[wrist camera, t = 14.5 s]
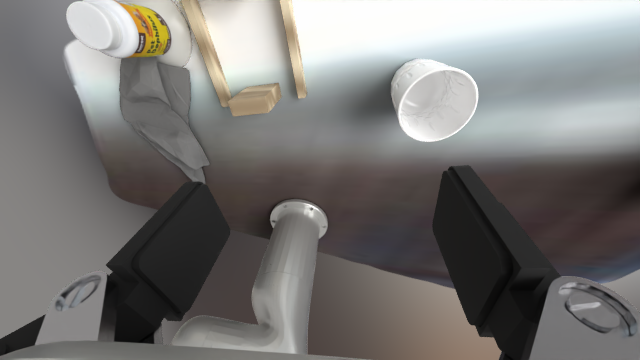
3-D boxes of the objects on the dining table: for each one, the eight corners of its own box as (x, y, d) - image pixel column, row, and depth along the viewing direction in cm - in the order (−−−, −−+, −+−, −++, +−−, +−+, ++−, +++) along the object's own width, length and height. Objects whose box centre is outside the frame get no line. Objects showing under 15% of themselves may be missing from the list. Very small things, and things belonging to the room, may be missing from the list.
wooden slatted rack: (307, 93, 35) (299, 109, 29) (227, 103, 37) (205, 119, 31) (284, -42, 26) (266, -57, 20) (182, -20, 28) (141, -28, 23)
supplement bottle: (176, 60, 33) (125, 65, 24) (134, 50, 32) (65, 52, 23) (172, 13, 30) (114, -1, 21) (126, 1, 29) (45, -19, 20)
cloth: (87, 20, 31) (71, 21, 30) (186, 38, 31) (176, 40, 30) (148, 172, 47) (140, 179, 46) (214, 184, 47) (208, 191, 45)
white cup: (374, 94, 34) (382, 119, 26) (413, 40, 29) (437, 50, 21) (416, 121, 35) (435, 153, 27) (458, 74, 31) (496, 95, 23)
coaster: (184, 84, 36) (182, 85, 35) (116, 44, 33) (113, 44, 33) (199, 17, 30) (197, 17, 30) (119, -37, 28) (116, -38, 27)
